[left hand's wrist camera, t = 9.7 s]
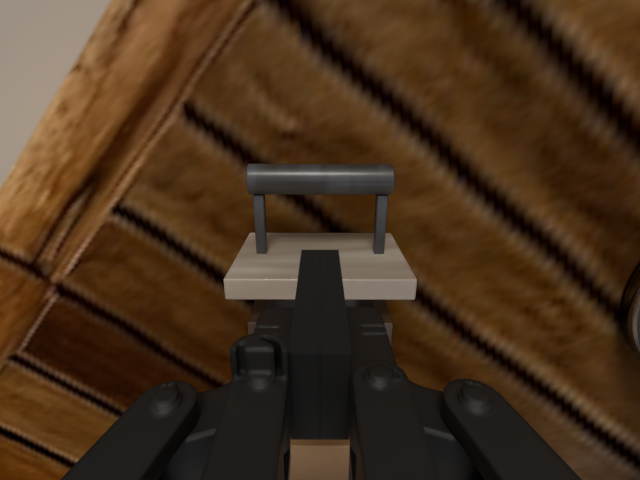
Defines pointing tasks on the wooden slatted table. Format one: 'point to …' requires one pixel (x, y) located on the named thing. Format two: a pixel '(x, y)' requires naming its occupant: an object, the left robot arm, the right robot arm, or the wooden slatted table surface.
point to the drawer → (320, 242)
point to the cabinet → (319, 459)
